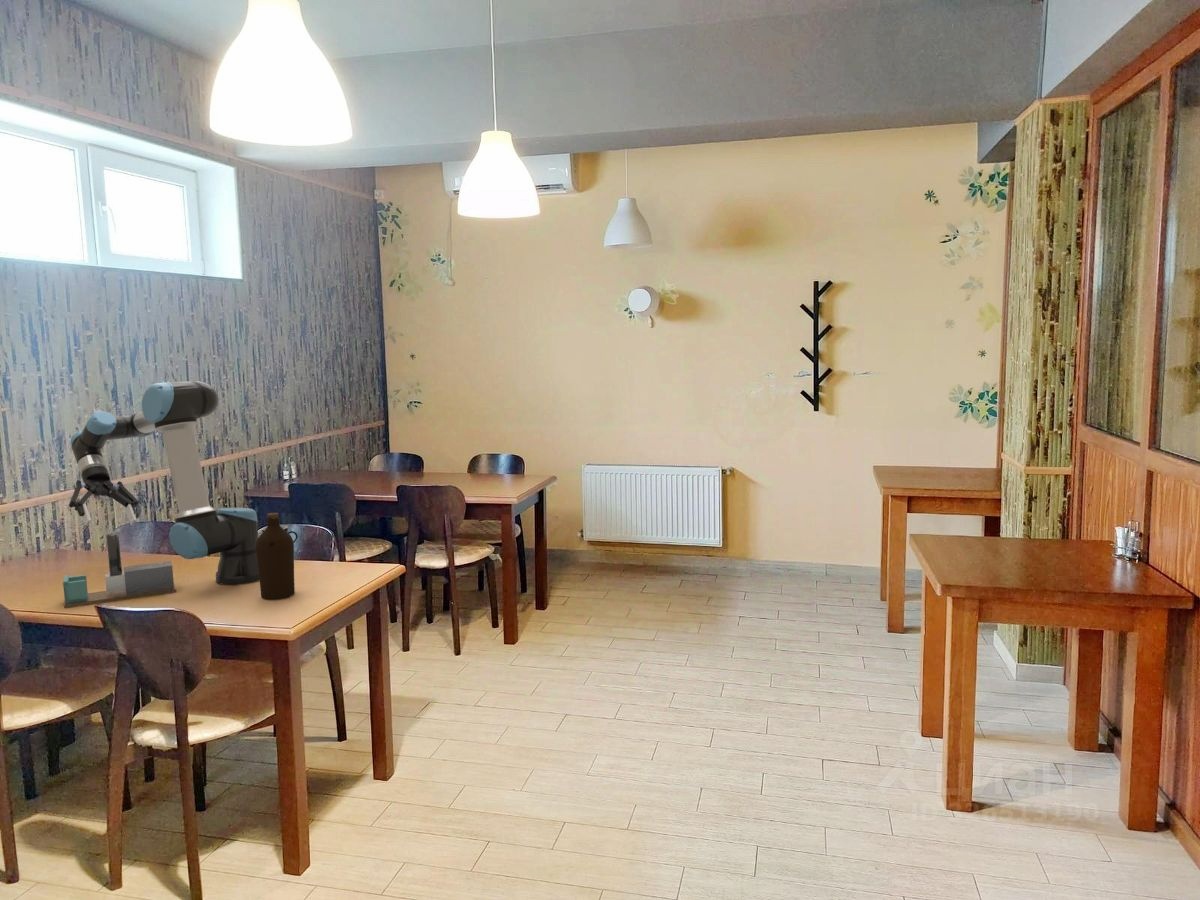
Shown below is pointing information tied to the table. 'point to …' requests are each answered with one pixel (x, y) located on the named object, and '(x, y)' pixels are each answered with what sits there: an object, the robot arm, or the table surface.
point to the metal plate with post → (114, 565)
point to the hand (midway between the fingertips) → (111, 523)
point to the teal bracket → (75, 588)
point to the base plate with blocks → (136, 584)
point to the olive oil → (275, 561)
